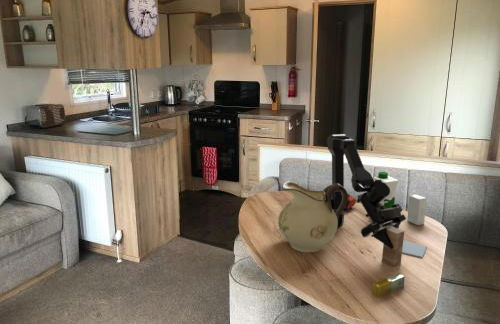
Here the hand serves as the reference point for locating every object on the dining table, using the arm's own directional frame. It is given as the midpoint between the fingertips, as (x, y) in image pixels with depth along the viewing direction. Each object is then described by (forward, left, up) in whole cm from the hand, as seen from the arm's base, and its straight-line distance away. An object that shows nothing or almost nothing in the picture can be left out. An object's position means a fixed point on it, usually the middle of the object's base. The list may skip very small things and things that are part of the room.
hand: (396, 246), depth 137 cm
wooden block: (-1, +1, -7) cm, 7 cm away
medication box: (+2, -18, -7) cm, 19 cm away
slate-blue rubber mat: (+3, +15, -7) cm, 16 cm away
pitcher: (-32, -2, -7) cm, 33 cm away
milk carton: (-14, +43, -7) cm, 45 cm away
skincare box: (0, +43, -7) cm, 43 cm away
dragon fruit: (-32, +43, -7) cm, 54 cm away
